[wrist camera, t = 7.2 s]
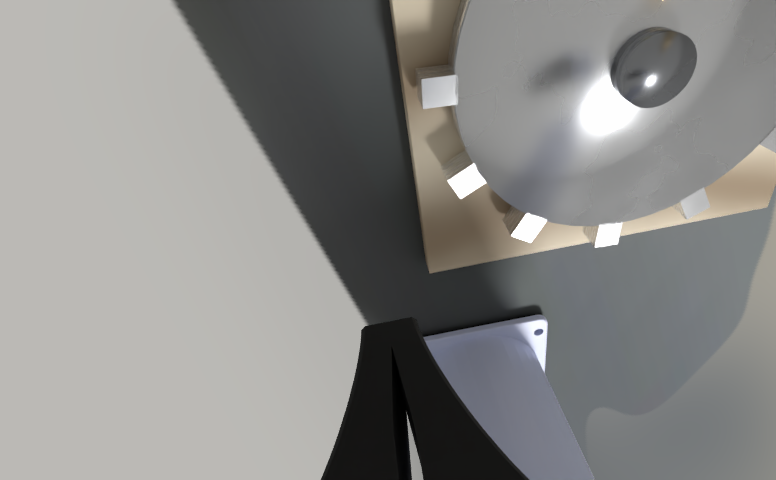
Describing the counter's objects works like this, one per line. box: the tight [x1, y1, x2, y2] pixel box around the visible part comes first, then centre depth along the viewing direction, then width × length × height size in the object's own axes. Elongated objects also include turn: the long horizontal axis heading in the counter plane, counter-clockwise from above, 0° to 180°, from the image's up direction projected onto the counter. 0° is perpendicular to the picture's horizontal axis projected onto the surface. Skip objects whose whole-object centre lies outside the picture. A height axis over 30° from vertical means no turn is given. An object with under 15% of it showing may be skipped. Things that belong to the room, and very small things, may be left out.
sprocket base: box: [389, 0, 776, 273], centre depth 18 cm, size 17×16×1 cm
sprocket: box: [416, 0, 776, 247], centre depth 15 cm, size 15×15×6 cm
